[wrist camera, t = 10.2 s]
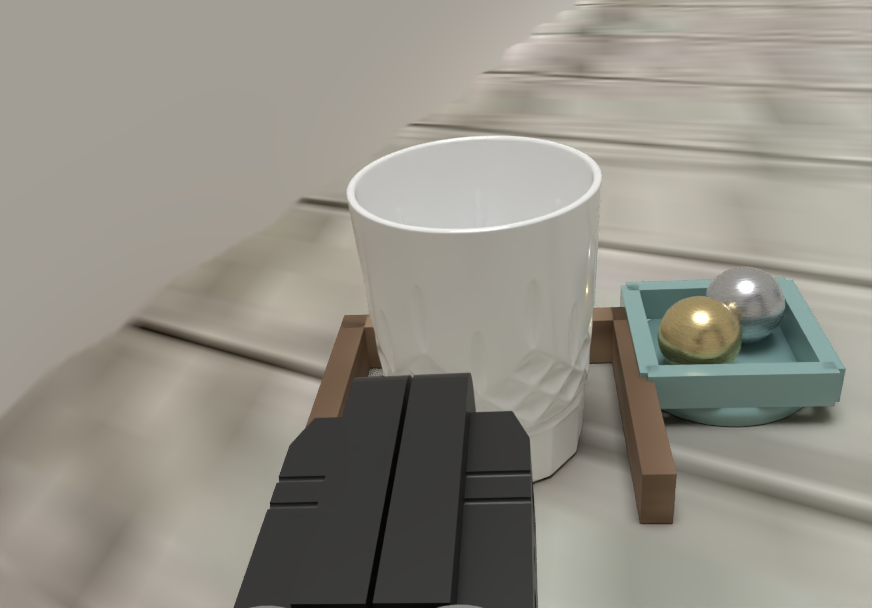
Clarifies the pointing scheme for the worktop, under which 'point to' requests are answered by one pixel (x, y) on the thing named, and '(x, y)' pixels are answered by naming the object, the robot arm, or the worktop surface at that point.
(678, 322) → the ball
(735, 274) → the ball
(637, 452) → the cradle
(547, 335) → the white cup
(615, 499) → the worktop surface
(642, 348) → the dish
